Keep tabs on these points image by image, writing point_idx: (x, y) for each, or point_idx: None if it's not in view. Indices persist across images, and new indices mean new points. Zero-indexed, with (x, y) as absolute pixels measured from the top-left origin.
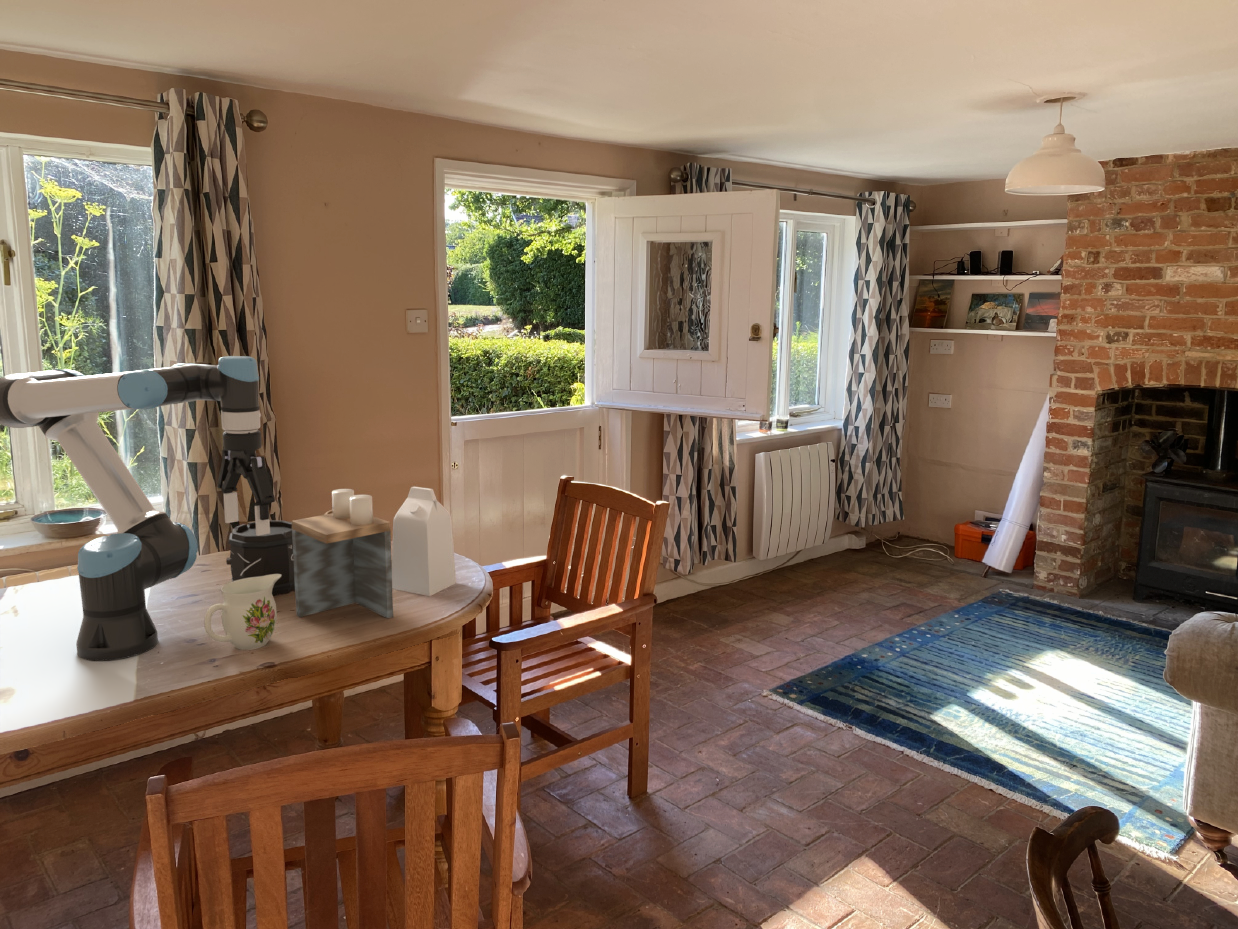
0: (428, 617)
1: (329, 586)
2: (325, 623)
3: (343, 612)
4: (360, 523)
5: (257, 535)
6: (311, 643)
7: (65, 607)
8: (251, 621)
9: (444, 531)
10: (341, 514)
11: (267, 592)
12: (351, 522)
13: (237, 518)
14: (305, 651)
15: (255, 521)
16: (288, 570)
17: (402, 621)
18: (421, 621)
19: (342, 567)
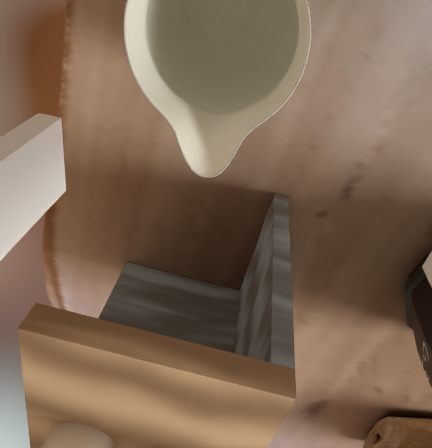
0: (80, 291)
1: (251, 284)
2: (199, 194)
3: (218, 249)
4: (52, 431)
5: (45, 115)
6: (126, 101)
7: None
8: None
9: None
10: None
11: (136, 61)
12: (83, 431)
13: (430, 273)
14: (95, 60)
15: (7, 154)
16: (417, 314)
17: (96, 263)
18: (73, 275)
19: (239, 336)
